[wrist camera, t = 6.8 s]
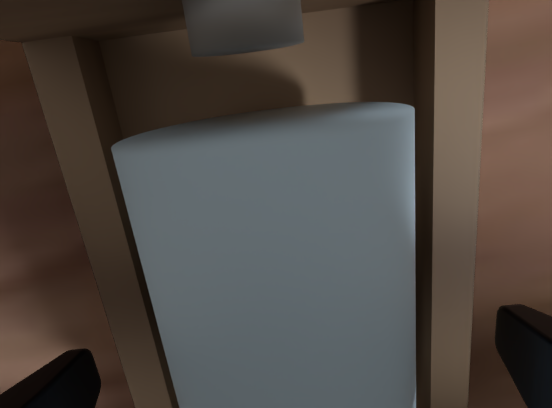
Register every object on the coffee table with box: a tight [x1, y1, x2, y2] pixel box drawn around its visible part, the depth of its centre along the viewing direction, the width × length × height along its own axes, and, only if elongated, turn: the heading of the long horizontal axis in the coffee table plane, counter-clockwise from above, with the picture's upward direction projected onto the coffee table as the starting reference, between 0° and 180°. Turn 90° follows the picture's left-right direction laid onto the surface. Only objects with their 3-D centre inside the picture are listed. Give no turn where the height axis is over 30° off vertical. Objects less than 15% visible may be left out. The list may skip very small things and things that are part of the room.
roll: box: [111, 102, 416, 408], centre depth 8 cm, size 9×5×5 cm, turn 7°
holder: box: [0, 0, 489, 408], centre depth 9 cm, size 15×9×5 cm, turn 7°
